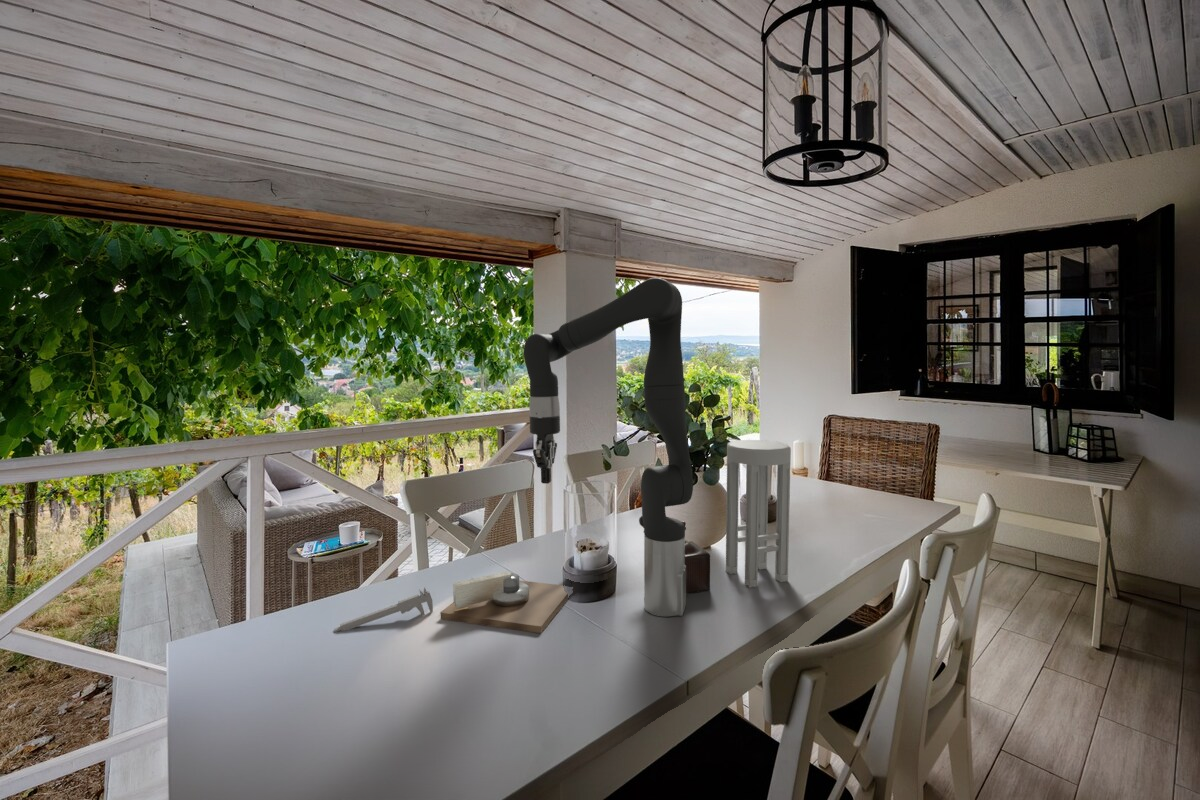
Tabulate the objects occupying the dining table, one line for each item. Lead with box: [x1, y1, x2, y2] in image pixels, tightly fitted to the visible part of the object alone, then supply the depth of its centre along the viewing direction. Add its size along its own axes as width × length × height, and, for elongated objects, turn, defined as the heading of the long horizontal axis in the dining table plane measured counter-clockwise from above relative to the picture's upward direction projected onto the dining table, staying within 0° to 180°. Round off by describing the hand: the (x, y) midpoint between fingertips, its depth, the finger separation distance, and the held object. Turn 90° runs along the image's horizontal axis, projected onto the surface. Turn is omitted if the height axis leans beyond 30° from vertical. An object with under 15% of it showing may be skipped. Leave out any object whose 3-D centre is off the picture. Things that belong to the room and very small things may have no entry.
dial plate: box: [439, 579, 569, 634], centre depth 134 cm, size 24×21×2 cm
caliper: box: [333, 587, 434, 633], centre depth 126 cm, size 20×1×6 cm, turn 115°
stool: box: [725, 439, 792, 588], centre depth 148 cm, size 16×16×35 cm
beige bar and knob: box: [452, 571, 530, 608], centre depth 131 cm, size 18×9×6 cm, turn 120°
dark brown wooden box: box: [638, 515, 711, 595], centre depth 143 cm, size 16×11×18 cm
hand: (546, 482), depth 144 cm, fingers closed
